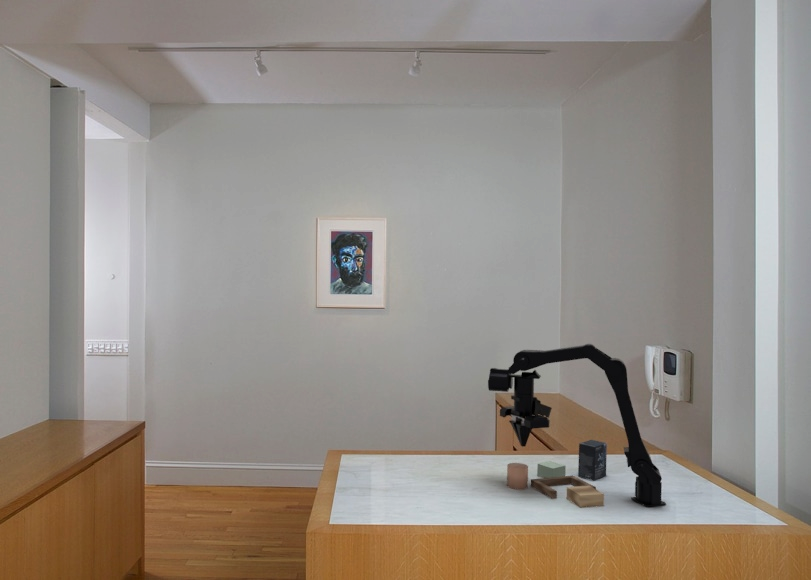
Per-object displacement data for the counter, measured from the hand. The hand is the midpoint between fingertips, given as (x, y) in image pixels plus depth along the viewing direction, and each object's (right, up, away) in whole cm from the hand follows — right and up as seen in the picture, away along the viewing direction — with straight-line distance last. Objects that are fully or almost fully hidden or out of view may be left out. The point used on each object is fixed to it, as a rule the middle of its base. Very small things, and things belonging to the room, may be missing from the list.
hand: (523, 446), depth 168 cm
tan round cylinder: (-2, -12, 0) cm, 12 cm away
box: (+24, -13, +11) cm, 30 cm away
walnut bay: (+11, -12, -2) cm, 16 cm away
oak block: (+14, -12, -12) cm, 22 cm away
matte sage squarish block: (+11, -13, +10) cm, 19 cm away
